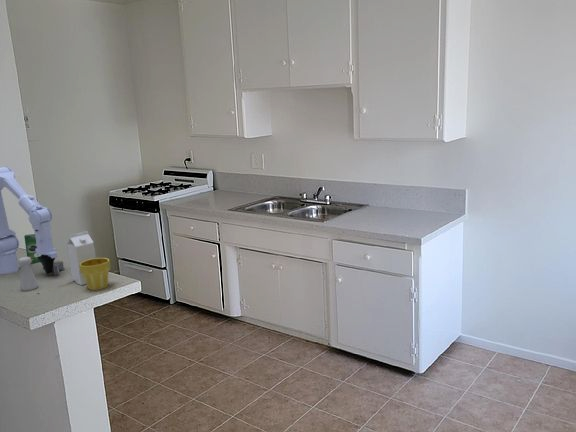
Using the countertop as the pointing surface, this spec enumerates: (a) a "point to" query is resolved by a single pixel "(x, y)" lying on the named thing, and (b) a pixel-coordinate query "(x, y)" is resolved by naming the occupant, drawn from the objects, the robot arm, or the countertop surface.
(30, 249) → the coffee box
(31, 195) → the robot arm
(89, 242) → the milk carton
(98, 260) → the plant pot
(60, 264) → the knob
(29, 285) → the salt shaker
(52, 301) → the countertop surface
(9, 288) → the countertop surface
